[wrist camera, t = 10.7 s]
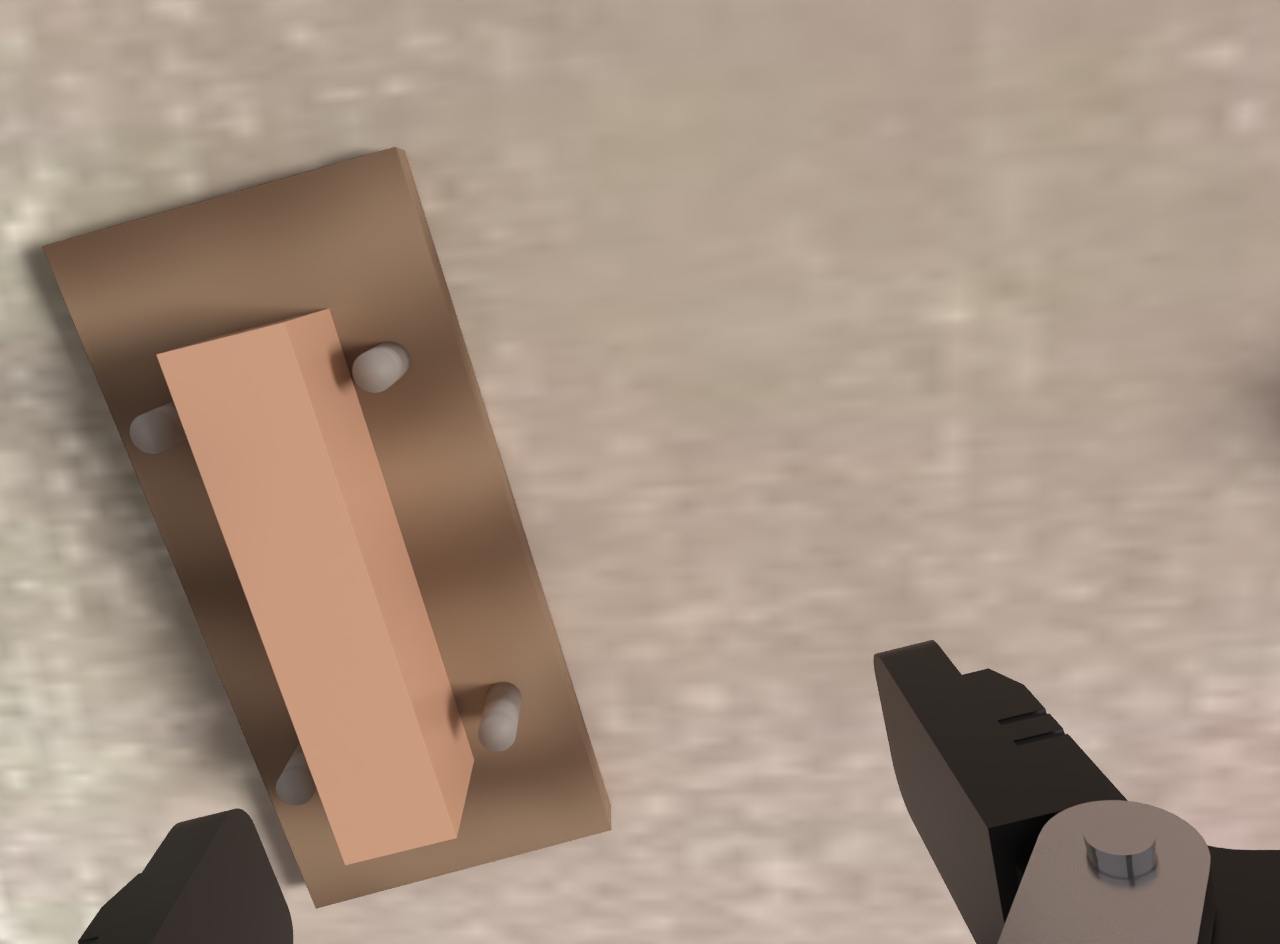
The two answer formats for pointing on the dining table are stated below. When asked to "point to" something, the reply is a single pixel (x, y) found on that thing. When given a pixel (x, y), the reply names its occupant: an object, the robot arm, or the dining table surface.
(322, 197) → the rack
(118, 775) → the dining table surface
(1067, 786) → the robot arm
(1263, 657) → the dining table surface
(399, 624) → the clay strip
